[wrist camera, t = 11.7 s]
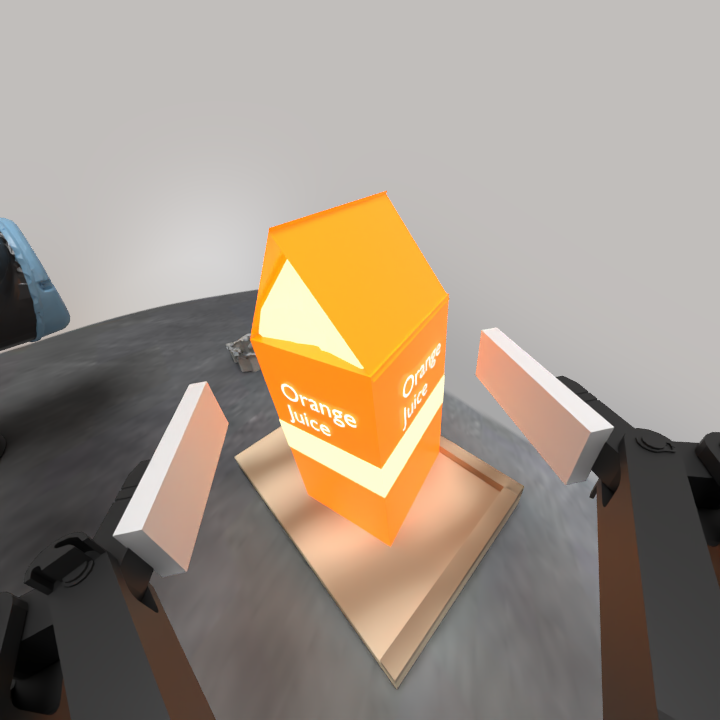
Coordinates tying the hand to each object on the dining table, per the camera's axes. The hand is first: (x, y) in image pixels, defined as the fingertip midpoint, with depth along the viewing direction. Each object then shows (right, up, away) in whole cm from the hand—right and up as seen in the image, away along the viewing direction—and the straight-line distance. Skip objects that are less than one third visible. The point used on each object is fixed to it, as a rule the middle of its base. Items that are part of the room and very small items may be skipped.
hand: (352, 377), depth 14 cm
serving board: (+1, -10, +11) cm, 15 cm away
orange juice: (+2, -9, +10) cm, 14 cm away
